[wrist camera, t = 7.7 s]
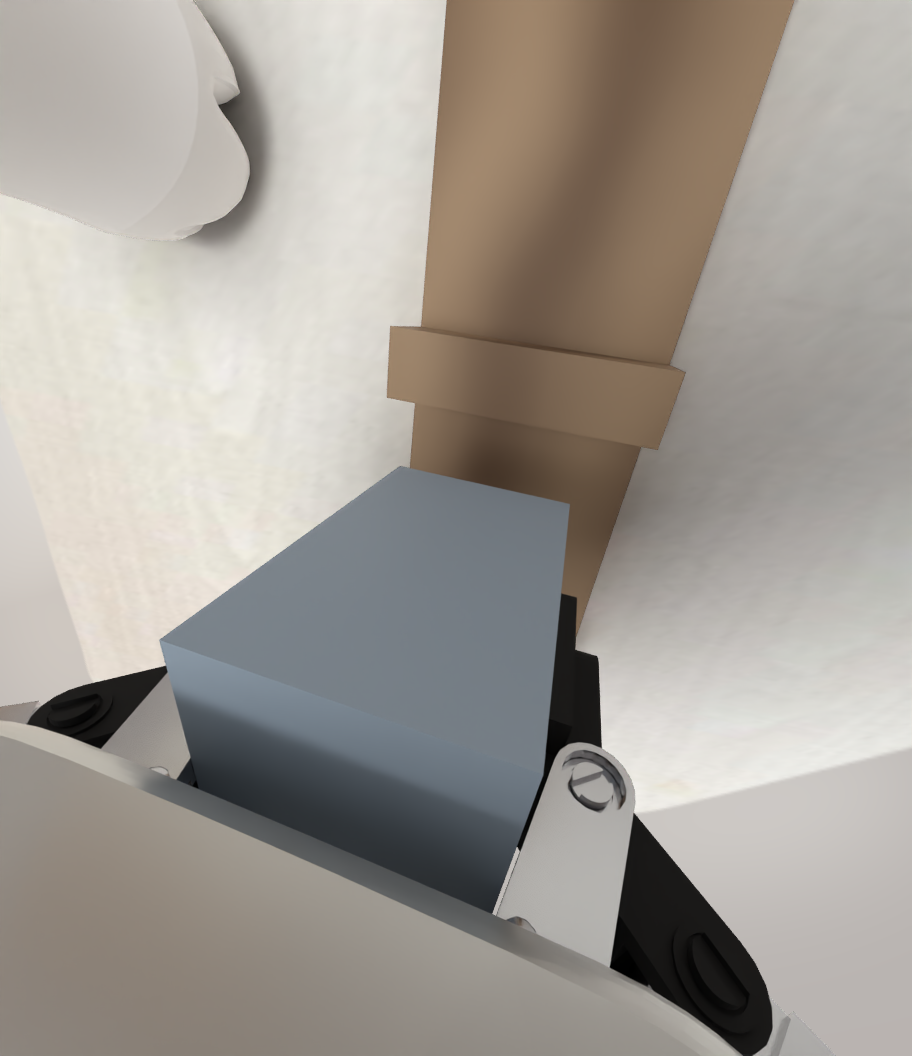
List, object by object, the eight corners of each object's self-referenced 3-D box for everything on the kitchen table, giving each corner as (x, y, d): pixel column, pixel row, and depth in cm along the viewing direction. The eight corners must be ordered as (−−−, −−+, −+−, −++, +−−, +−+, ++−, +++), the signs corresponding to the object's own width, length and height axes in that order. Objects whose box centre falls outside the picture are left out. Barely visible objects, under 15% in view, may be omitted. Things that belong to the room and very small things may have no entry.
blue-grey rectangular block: (572, 504, 10) (547, 776, 4) (515, 704, 13) (454, 1024, 7) (400, 466, 11) (158, 640, 5) (386, 662, 14) (233, 916, 8)
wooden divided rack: (847, -194, 9) (1017, -541, 5) (565, 651, 20) (559, 719, 16) (481, -163, 10) (425, -414, 7) (409, 605, 21) (374, 658, 18)
